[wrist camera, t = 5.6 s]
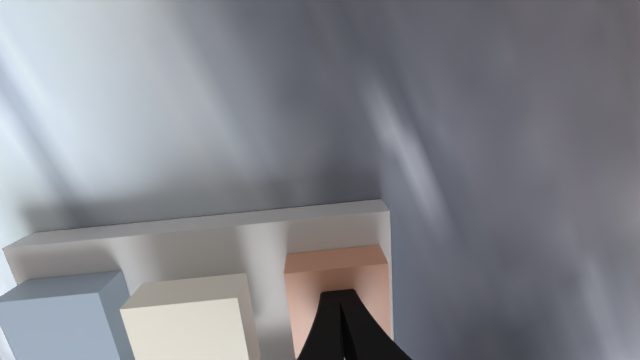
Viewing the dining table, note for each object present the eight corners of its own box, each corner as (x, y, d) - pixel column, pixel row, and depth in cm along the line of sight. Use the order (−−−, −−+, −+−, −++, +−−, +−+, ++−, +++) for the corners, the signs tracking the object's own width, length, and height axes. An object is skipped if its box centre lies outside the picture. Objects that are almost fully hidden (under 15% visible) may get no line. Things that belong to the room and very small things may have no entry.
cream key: (246, 272, 12) (237, 297, 10) (260, 355, 13) (254, 388, 11) (142, 283, 12) (119, 309, 10) (166, 364, 13) (148, 399, 11)
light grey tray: (381, 199, 14) (390, 210, 13) (389, 410, 17) (396, 438, 16) (33, 232, 14) (2, 248, 12) (112, 439, 17) (94, 470, 16)
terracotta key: (379, 244, 13) (388, 263, 11) (382, 322, 14) (391, 348, 13) (286, 254, 13) (283, 274, 11) (296, 331, 14) (295, 358, 12)
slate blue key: (121, 270, 13) (97, 292, 11) (144, 346, 14) (125, 376, 12) (26, 279, 13) (-10, 303, 11) (56, 355, 14) (27, 386, 12)
